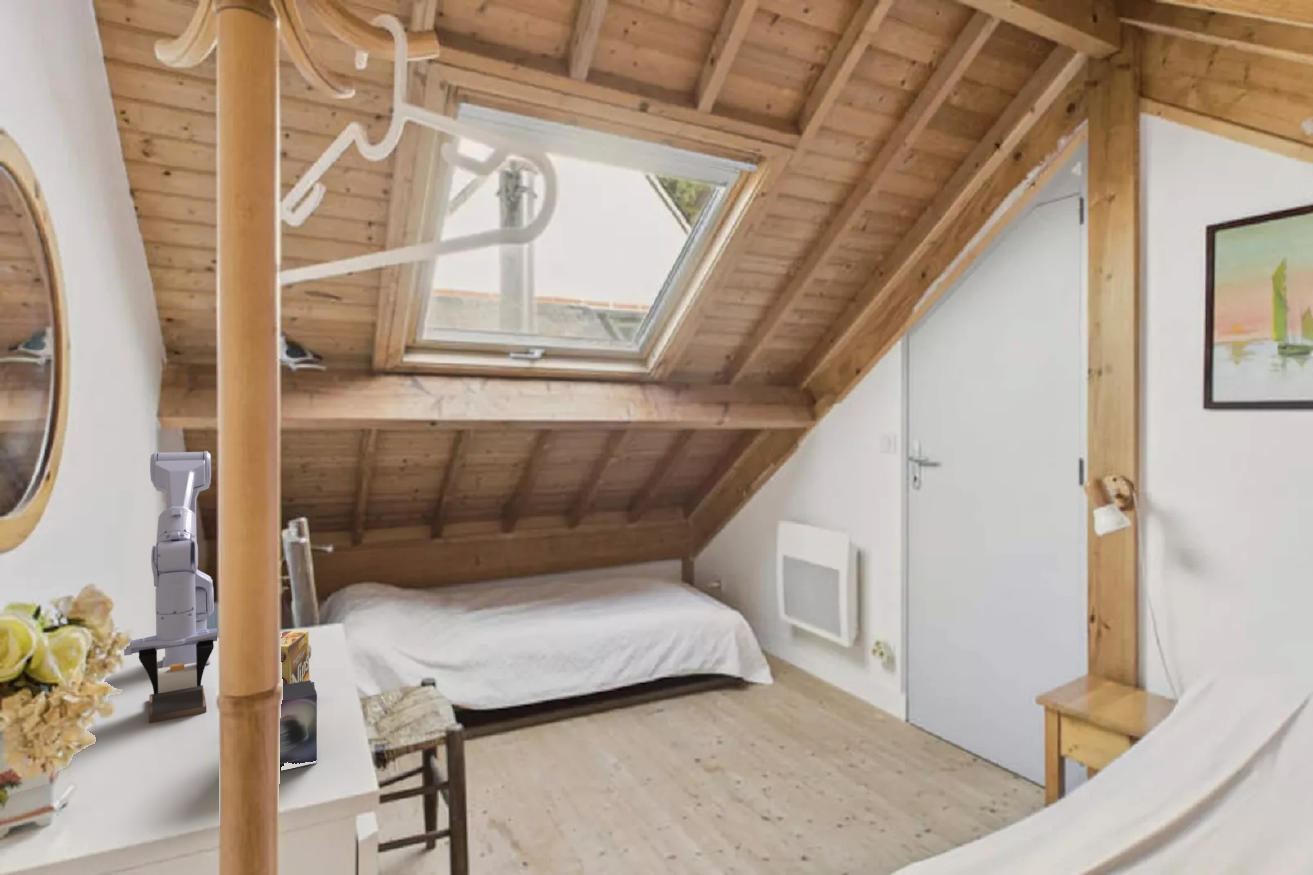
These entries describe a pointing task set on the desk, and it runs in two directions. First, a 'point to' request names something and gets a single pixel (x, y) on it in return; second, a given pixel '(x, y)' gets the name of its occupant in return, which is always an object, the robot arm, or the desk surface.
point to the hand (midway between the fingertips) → (177, 688)
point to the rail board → (176, 704)
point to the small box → (298, 723)
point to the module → (177, 677)
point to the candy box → (295, 656)
